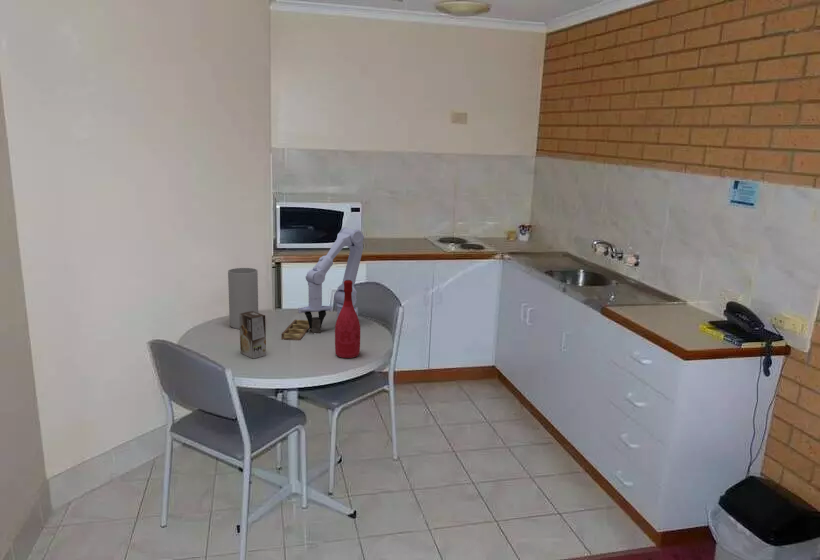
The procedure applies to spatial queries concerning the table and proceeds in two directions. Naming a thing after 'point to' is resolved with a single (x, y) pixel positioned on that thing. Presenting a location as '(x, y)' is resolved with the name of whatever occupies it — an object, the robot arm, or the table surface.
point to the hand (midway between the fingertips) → (315, 327)
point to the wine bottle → (347, 327)
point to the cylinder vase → (242, 293)
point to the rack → (296, 330)
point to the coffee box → (252, 334)
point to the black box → (315, 325)
